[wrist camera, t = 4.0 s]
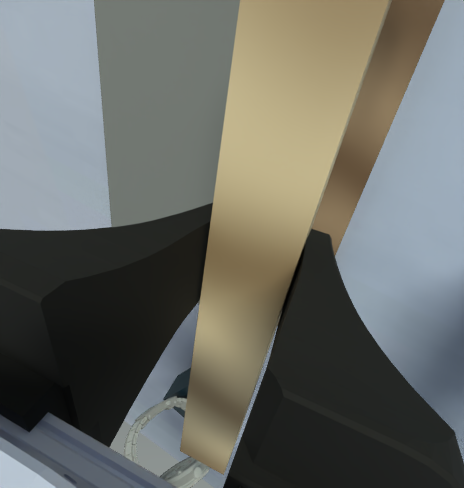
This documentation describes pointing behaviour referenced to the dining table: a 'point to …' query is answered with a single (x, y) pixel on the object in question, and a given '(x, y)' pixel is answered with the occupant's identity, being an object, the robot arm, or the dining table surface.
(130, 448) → the watch
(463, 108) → the dining table surface
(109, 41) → the mat
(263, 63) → the rail
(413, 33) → the rack
